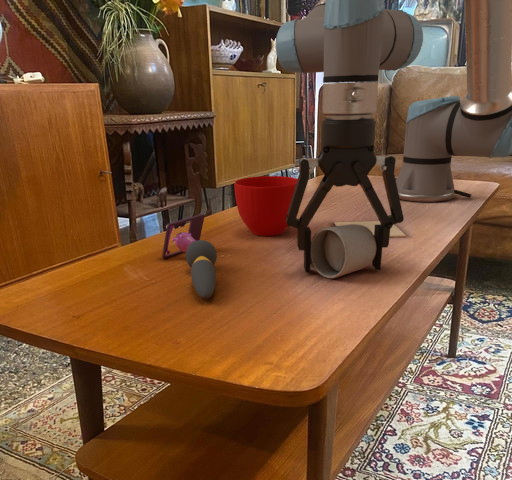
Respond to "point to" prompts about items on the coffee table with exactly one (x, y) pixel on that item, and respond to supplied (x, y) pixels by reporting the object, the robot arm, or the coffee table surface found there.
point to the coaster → (371, 226)
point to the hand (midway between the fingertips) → (341, 268)
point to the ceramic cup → (264, 203)
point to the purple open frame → (183, 234)
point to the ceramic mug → (342, 249)
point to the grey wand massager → (202, 267)
